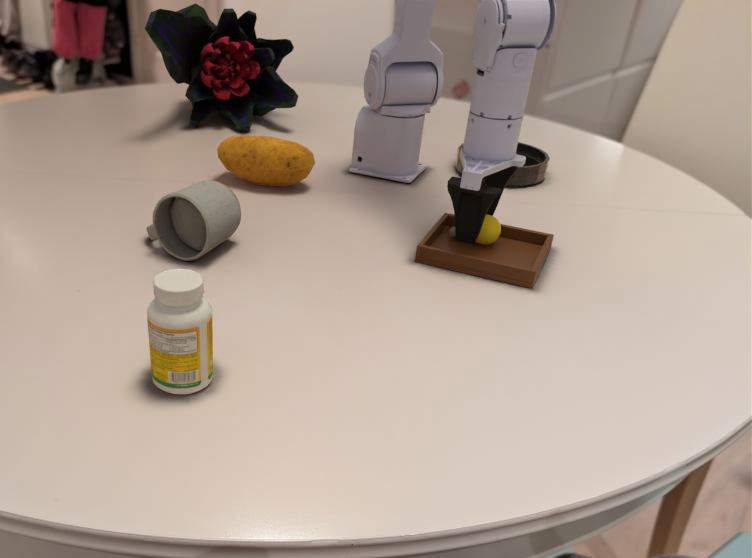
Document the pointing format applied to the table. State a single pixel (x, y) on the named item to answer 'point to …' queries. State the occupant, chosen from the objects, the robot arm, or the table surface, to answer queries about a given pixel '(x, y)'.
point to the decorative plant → (222, 63)
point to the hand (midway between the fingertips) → (474, 229)
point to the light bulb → (485, 231)
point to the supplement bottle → (180, 332)
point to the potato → (266, 159)
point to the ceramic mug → (195, 219)
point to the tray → (487, 253)
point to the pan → (528, 172)
